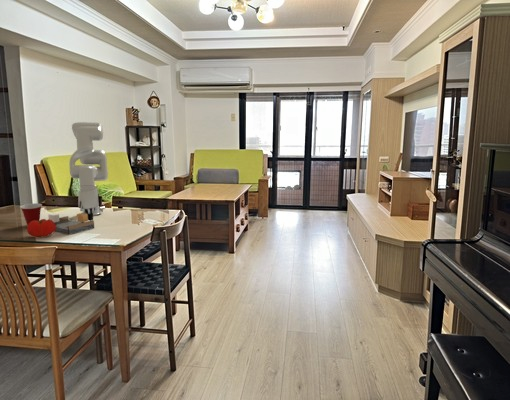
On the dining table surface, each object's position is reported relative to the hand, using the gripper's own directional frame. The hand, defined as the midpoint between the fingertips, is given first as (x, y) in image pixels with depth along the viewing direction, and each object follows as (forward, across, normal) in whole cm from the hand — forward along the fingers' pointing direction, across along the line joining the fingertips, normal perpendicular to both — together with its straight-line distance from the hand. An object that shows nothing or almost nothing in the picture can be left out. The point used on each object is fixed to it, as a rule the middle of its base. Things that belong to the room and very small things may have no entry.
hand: (90, 220), depth 199 cm
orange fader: (+1, +5, 0) cm, 5 cm away
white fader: (+1, +13, -13) cm, 18 cm away
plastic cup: (+4, +14, -32) cm, 35 cm away
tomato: (+4, +25, -4) cm, 25 cm away
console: (+4, +9, -7) cm, 12 cm away
